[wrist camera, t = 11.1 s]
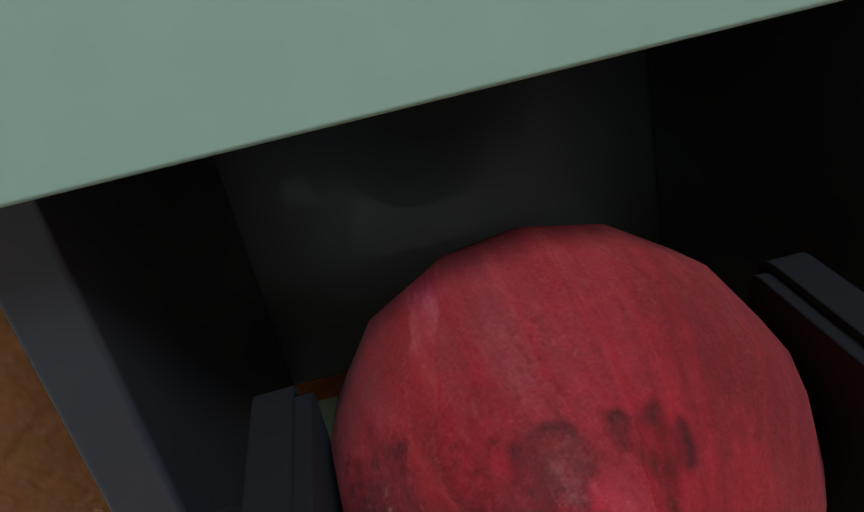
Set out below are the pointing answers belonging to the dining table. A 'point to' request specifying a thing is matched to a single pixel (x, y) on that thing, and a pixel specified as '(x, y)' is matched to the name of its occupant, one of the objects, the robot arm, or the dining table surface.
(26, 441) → the dining table surface
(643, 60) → the drawer
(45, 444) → the dining table surface
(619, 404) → the onion
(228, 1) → the cabinet
